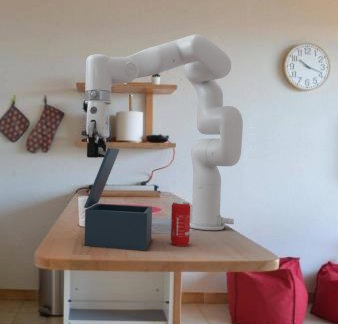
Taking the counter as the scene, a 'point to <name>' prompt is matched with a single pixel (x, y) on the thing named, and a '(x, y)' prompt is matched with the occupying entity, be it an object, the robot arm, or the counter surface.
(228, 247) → the counter surface
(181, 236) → the beverage can
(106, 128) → the robot arm
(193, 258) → the counter surface
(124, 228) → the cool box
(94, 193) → the lid
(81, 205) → the white cup
